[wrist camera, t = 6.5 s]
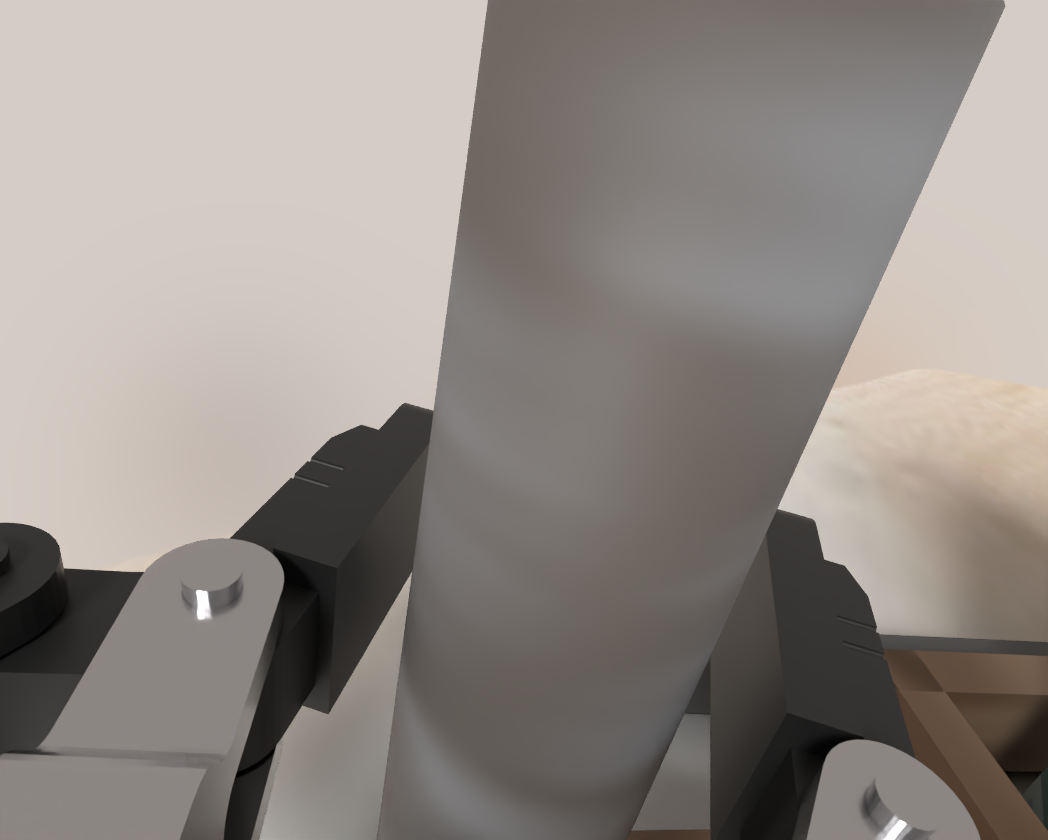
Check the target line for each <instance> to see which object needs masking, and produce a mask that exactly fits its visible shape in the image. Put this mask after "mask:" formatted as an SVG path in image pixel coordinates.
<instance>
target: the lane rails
mask: <svg viewBox="0 0 1048 840" xmlns="http://www.w3.org/2000/svg"><path fill="white" fill-rule="evenodd" d="M879 636H880V639H881V643H882V646H883V649H893V650H916V651H940V652H963V653H987V654H1010V655H1034V656H1048V642H1029V641H1007V640H986V639H965V638H943V637H922V636H900V635H879ZM685 713H690V714H710V658H709V660H708V662H707V664H706V666H705V669H704V671H703V673H702V675H701V678H700V680H699V682H698V684H697V686H696V689H695V691H694V693H693V695H692V697H691V700H690V702H689V704H688V706H687V708H686V711H685Z"/></svg>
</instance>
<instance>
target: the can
mask: <svg viewBox="0 0 1048 840" xmlns="http://www.w3.org/2000/svg"><path fill="white" fill-rule="evenodd" d="M1022 797H1023V798H1024V799H1025V801H1026V802H1027V803H1028V805H1029V806H1030V808H1031V809H1032V810H1033V812H1034V813H1035V814H1036V816H1037V817H1038V818H1039V820H1040V821H1041V822H1042V824H1043V825H1044V826H1045V828H1046V829H1047V831H1048V767H1047V768H1046V769H1045V770H1044V771H1043V772H1042V773H1041V774H1040V775H1039V777H1038V778H1037V779H1036V780H1035V781H1034V782H1033V783H1032V784H1031V785H1030V786H1029V788H1028V789H1027V790H1026V791H1025V792H1024V793H1023V794H1022Z"/></svg>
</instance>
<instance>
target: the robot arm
mask: <svg viewBox="0 0 1048 840" xmlns="http://www.w3.org/2000/svg"><path fill="white" fill-rule="evenodd" d="M433 413H434V411H432V410H429V409H425V408H421V407H418V406H414V405H410V404H407V403H404V404H402V405H401V406H400V407H399V408H398V409H397V410H396V412H395V413H394V414H393V415H392V416H391V417H390V418H389V419H388V420H387V422H386V423H385V424H384V425H383V426H382V427H381V428H380V429H379V430H377V429H374V428H370V427H367V426H363V425H360V426H358V427H355V428H353V429H351V430H348V431H346V432H344V433H341V434H339V435H337V436H334V437H332V438H331V439H330V440H329V441H327V442H326V444H325V445H324V446H322V447H321V448H320V450H318V451H317V452H316V453H315V455H313V456H312V458H311V461H310V462H308V461H307V462H306V463H305V465H303V466H302V467H301V468H300V469H299V470H298V471H297V472H296V473H295V476H294V478H293V479H292V478H290V479H289V480H288V481H287V482H286V483H285V484H284V485H283V486H282V487H281V488H280V489H279V490H278V491H277V492H276V493H275V494H274V495H273V496H272V497H271V498H270V499H269V500H268V501H267V502H266V503H265V504H264V505H263V506H262V507H261V508H260V509H259V510H258V511H257V512H256V513H255V514H254V515H253V516H252V517H251V518H250V519H249V520H248V521H247V522H246V523H245V524H244V525H243V526H242V527H241V528H240V529H239V530H238V531H237V532H236V533H235V534H234V535H233V536H232V537H231V538H230V539H208V540H203V541H197V542H193V543H190V544H186V545H184V546H181V547H179V548H176V549H174V550H172V551H170V552H168V553H166V554H165V555H163V556H162V557H160V558H159V559H157V560H156V561H155V562H154V563H152V564H151V565H150V566H149V567H148V568H147V569H146V571H145V572H120V571H101V570H82V569H64V568H63V563H62V558H61V553H60V548H59V545H58V543H57V542H56V540H55V539H54V538H53V537H52V536H51V535H50V534H49V533H47V532H45V531H43V530H41V529H39V528H36V527H33V526H29V525H24V524H17V523H0V840H259V838H260V834H261V830H262V826H263V822H264V818H265V814H266V811H267V807H268V803H269V799H270V795H271V791H272V787H273V783H274V779H275V775H276V772H277V768H278V764H279V760H280V756H281V751H282V745H283V735H284V733H285V732H286V730H287V729H288V727H289V725H290V724H291V722H292V721H293V719H294V718H295V716H296V714H297V713H298V711H299V710H300V708H301V706H302V705H303V706H306V707H309V708H312V709H315V710H318V711H320V712H323V713H326V714H329V712H330V711H331V709H332V707H333V705H334V704H335V702H336V700H337V699H338V697H339V695H340V694H341V692H342V690H343V688H344V687H345V685H346V683H347V682H348V680H349V678H350V676H351V675H352V673H353V671H354V670H355V668H356V666H357V664H358V663H359V661H360V659H361V658H362V656H363V654H364V652H365V651H366V649H367V647H368V646H369V644H370V642H371V640H372V639H373V637H374V635H375V634H376V632H377V630H378V629H379V627H380V625H381V623H382V622H383V620H384V618H385V617H386V615H387V613H388V611H389V610H390V608H391V606H392V605H393V603H394V601H395V599H396V598H397V596H398V594H399V593H400V591H401V589H402V587H403V586H404V584H405V582H406V581H407V579H408V577H409V575H410V574H411V572H412V570H413V563H414V556H415V548H416V541H417V533H418V526H419V518H420V511H421V503H422V496H423V488H424V480H425V473H426V465H427V458H428V450H429V443H430V435H431V428H432V420H433ZM876 628H877V626H876V622H875V619H874V615H873V612H872V609H871V605H870V602H869V598H868V596H867V595H866V593H865V592H864V591H863V589H862V588H861V587H860V585H859V584H858V583H857V581H856V580H855V579H854V578H853V576H852V575H851V574H850V572H849V571H848V570H847V568H846V567H845V566H844V565H840V564H837V563H833V562H830V561H827V560H824V557H823V553H822V549H821V544H820V540H819V535H818V531H817V527H816V523H815V521H814V520H813V519H811V518H807V517H804V516H800V515H797V514H793V513H790V512H786V511H782V510H779V509H777V510H776V512H775V515H774V517H773V519H772V521H771V523H770V526H769V528H768V530H767V532H766V534H765V537H764V539H763V541H762V543H761V545H760V548H759V550H758V552H757V554H756V556H755V559H754V561H753V563H752V565H751V567H750V570H749V572H748V574H747V576H746V578H745V581H744V583H743V585H742V587H741V589H740V592H739V594H738V596H737V598H736V600H735V603H734V605H733V607H732V609H731V611H730V614H729V616H728V618H727V620H726V622H725V625H724V627H723V629H722V631H721V633H720V636H719V638H718V640H717V642H716V644H715V647H714V649H713V651H712V653H711V655H710V833H711V840H981V839H980V836H979V833H978V830H977V828H976V826H975V824H974V822H973V819H972V818H971V816H970V814H969V813H968V811H967V810H966V808H965V806H964V805H963V804H962V802H961V801H960V800H959V798H958V797H957V796H956V795H955V793H954V792H953V791H952V790H951V789H950V788H949V787H948V786H947V785H946V784H945V782H944V781H943V780H941V779H940V778H939V777H938V776H937V775H936V774H935V773H934V772H932V771H931V770H930V769H929V768H927V767H926V766H925V765H923V764H922V763H921V762H919V761H918V760H916V758H915V755H914V751H913V748H912V744H911V741H910V738H909V734H908V731H907V727H906V724H905V721H904V717H903V714H902V710H901V707H900V704H899V700H898V697H897V693H896V690H895V687H894V683H893V680H892V677H891V673H890V670H889V666H888V663H887V660H885V659H883V657H884V649H883V646H882V643H881V639H880V636H879V633H876Z"/></svg>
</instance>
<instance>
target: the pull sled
mask: <svg viewBox="0 0 1048 840" xmlns="http://www.w3.org/2000/svg"><path fill="white" fill-rule="evenodd" d="M1004 8H1005V3H1004V1H1003V0H488V5H487V12H486V20H485V28H484V35H483V43H482V50H481V58H480V65H479V73H478V80H477V89H476V96H475V103H474V111H473V118H472V126H471V134H470V141H469V148H468V156H467V163H466V171H465V179H464V186H463V194H462V201H461V209H460V216H459V224H458V232H457V239H456V246H455V254H454V262H453V269H452V277H451V285H450V292H449V299H448V307H447V314H446V322H445V330H444V338H443V345H442V353H441V360H440V367H439V375H438V382H437V390H436V397H435V405H434V413H433V420H432V428H431V435H430V443H429V450H428V458H427V465H426V473H425V480H424V488H423V496H422V503H421V511H420V518H419V526H418V533H417V541H416V548H415V556H414V563H413V571H412V579H411V586H410V594H409V601H408V609H407V616H406V624H405V631H404V639H403V647H402V654H401V662H400V669H399V677H398V684H397V692H396V699H395V707H394V714H393V722H392V730H391V737H390V745H389V752H388V760H387V767H386V775H385V782H384V790H383V798H382V805H381V813H380V820H379V828H378V835H377V840H711V833H710V830H648V831H631V829H632V827H633V825H634V823H635V821H636V818H637V816H638V814H639V812H640V810H641V807H642V805H643V803H644V801H645V799H646V796H647V794H648V792H649V790H650V788H651V785H652V783H653V781H654V779H655V777H656V774H657V772H658V770H659V768H660V766H661V763H662V761H663V759H664V757H665V755H666V752H667V750H668V748H669V746H670V744H671V741H672V739H673V737H674V735H675V733H676V730H677V728H678V726H679V724H680V722H681V719H682V717H683V715H684V713H685V711H686V708H687V706H688V704H689V702H690V700H691V697H692V695H693V693H694V691H695V689H696V686H697V684H698V682H699V680H700V678H701V675H702V673H703V671H704V669H705V666H706V664H707V662H708V660H709V658H710V655H711V653H712V651H713V649H714V647H715V644H716V642H717V640H718V638H719V636H720V633H721V631H722V629H723V627H724V625H725V622H726V620H727V618H728V616H729V614H730V611H731V609H732V607H733V605H734V603H735V600H736V598H737V596H738V594H739V592H740V589H741V587H742V585H743V583H744V581H745V578H746V576H747V574H748V572H749V570H750V567H751V565H752V563H753V561H754V559H755V556H756V554H757V552H758V550H759V548H760V545H761V543H762V541H763V539H764V537H765V534H766V532H767V530H768V528H769V526H770V523H771V521H772V519H773V517H774V515H775V512H776V510H777V508H778V506H779V504H780V501H781V499H782V497H783V495H784V493H785V490H786V488H787V486H788V484H789V482H790V479H791V477H792V475H793V473H794V471H795V468H796V466H797V464H798V462H799V459H800V457H801V455H802V453H803V451H804V448H805V446H806V444H807V442H808V440H809V437H810V435H811V433H812V431H813V429H814V426H815V424H816V422H817V420H818V418H819V415H820V413H821V411H822V409H823V407H824V404H825V402H826V400H827V398H828V396H829V393H830V391H831V389H832V387H833V384H834V382H835V380H836V378H837V375H838V374H839V371H840V369H841V367H842V365H843V363H844V360H845V358H846V356H847V353H848V351H849V349H850V347H851V345H852V343H853V340H854V338H855V336H856V334H857V332H858V330H859V327H860V325H861V323H862V320H863V318H864V316H865V314H866V312H867V310H868V308H869V305H870V303H871V301H872V299H873V297H874V294H875V292H876V290H877V288H878V286H879V283H880V281H881V279H882V277H883V275H884V272H885V270H886V268H887V266H888V263H889V261H890V259H891V257H892V254H893V252H894V250H895V248H896V246H897V244H898V241H899V239H900V237H901V235H902V233H903V230H904V228H905V226H906V224H907V222H908V219H909V217H910V215H911V213H912V211H913V208H914V206H915V204H916V202H917V200H918V197H919V195H920V193H921V191H922V189H923V186H924V184H925V182H926V180H927V178H928V175H929V173H930V171H931V169H932V167H933V164H934V162H935V160H936V158H937V156H938V153H939V151H940V149H941V147H942V145H943V142H944V140H945V138H946V136H947V133H948V131H949V129H950V127H951V124H952V123H953V120H954V118H955V116H956V114H957V112H958V109H959V107H960V105H961V102H962V101H963V98H964V96H965V94H966V92H967V90H968V87H969V85H970V83H971V81H972V78H973V76H974V74H975V72H976V70H977V68H978V65H979V63H980V61H981V59H982V56H983V54H984V52H985V49H986V47H987V45H988V43H989V41H990V39H991V37H992V34H993V32H994V30H995V28H996V25H997V23H998V21H999V19H1000V17H1001V15H1002V12H1003V10H1004ZM883 659H885V660H887V663H888V666H889V670H890V673H891V677H892V680H893V683H894V687H895V690H896V693H897V697H898V700H899V704H900V707H901V710H902V714H903V717H904V721H905V724H906V727H907V731H908V734H909V738H910V741H911V744H912V748H913V751H914V755H915V758H916V760H918V761H919V762H921V763H922V764H923V765H925V766H926V767H927V768H929V769H930V770H931V771H932V772H934V773H935V774H936V775H937V776H938V777H939V778H940V779H941V780H943V781H944V782H945V784H946V785H947V786H948V787H949V788H950V789H951V790H952V791H953V792H954V793H955V795H956V796H957V797H958V798H959V800H960V801H961V802H962V804H963V805H964V806H965V808H966V810H967V811H968V813H969V814H970V816H971V818H972V819H973V822H974V824H975V826H976V828H977V830H978V833H979V836H980V839H981V840H1048V831H1047V829H1046V828H1045V826H1044V825H1043V824H1042V822H1041V821H1040V820H1039V818H1038V817H1037V816H1036V814H1035V813H1034V812H1033V810H1032V809H1031V808H1030V806H1029V805H1028V803H1027V802H1026V801H1025V799H1024V798H1023V797H1022V795H1021V794H1020V793H1019V791H1018V790H1017V789H1016V787H1015V786H1014V785H1013V783H1012V782H1011V780H1010V779H1009V778H1008V776H1007V775H1006V774H1005V772H1004V771H1044V770H1045V769H1046V768H1047V767H1048V656H1034V655H1010V654H987V653H963V652H940V651H916V650H893V649H884V657H883Z"/></svg>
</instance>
